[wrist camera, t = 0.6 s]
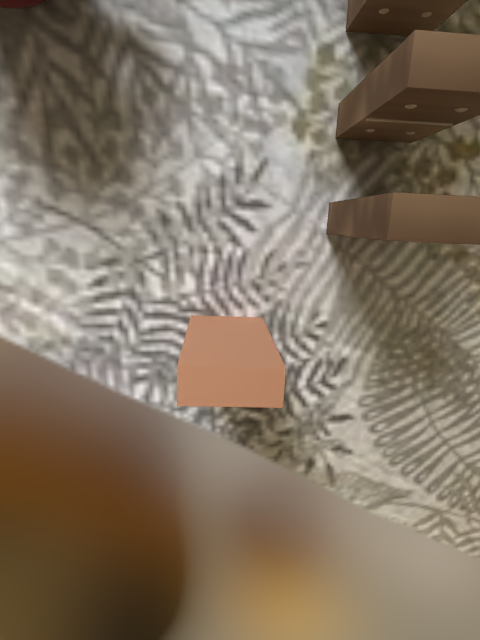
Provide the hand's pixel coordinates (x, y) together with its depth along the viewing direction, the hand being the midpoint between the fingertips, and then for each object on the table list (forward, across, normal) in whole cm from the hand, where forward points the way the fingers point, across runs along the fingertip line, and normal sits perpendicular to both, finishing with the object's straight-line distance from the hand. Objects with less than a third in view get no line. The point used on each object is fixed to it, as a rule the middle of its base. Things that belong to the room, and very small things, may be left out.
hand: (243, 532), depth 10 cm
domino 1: (+19, 0, 0) cm, 19 cm away
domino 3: (+19, +9, +14) cm, 25 cm away
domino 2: (+19, +9, +20) cm, 29 cm away
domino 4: (+19, +9, +8) cm, 22 cm away
